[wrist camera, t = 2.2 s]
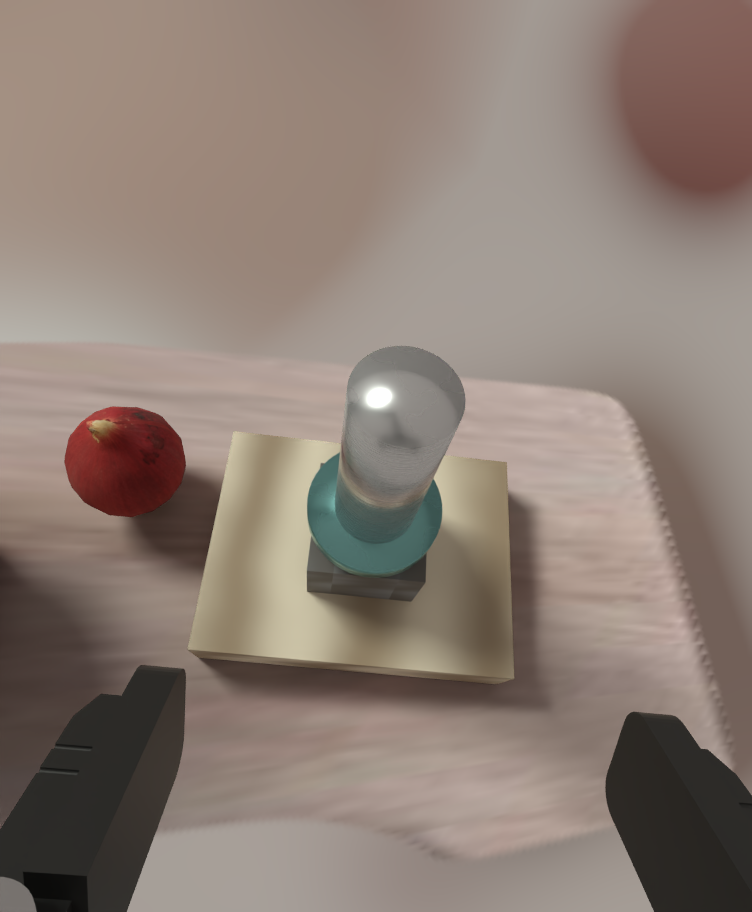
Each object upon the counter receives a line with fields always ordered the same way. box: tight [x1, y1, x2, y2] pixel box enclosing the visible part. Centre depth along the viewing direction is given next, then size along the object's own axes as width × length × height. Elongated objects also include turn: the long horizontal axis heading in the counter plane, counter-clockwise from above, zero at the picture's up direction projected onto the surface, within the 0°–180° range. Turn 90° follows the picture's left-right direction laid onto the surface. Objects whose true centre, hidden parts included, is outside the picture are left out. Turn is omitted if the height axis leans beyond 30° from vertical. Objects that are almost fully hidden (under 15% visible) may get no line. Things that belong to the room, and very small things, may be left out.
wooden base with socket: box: [187, 431, 514, 684], centre depth 30 cm, size 16×12×7 cm
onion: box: [65, 407, 186, 517], centre depth 30 cm, size 6×6×8 cm
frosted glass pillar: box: [307, 346, 465, 578], centre depth 24 cm, size 6×6×15 cm
